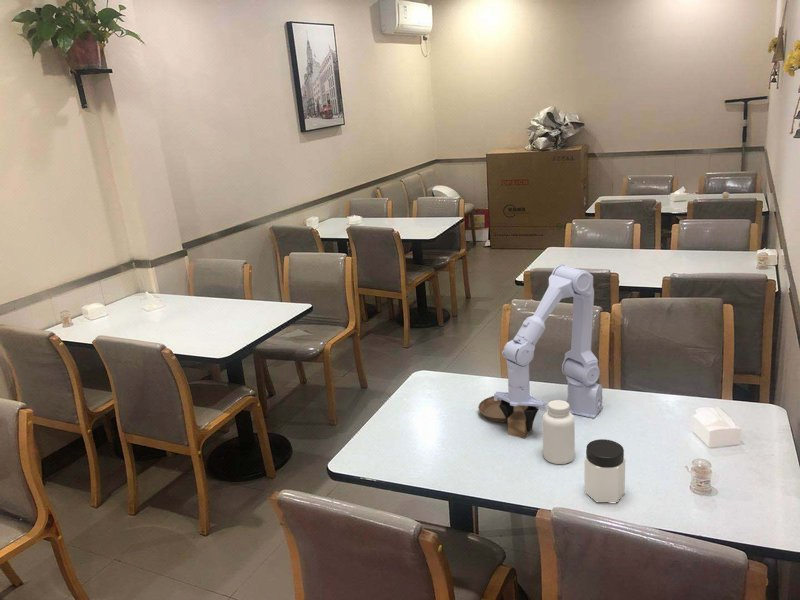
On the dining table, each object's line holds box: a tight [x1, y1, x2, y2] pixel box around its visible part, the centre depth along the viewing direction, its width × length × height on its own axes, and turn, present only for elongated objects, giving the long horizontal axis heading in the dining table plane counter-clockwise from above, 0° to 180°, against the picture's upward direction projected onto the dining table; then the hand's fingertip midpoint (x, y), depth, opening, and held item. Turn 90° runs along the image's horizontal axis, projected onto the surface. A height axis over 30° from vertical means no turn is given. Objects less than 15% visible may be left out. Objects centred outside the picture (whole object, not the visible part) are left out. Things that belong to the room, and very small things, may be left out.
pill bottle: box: [541, 399, 576, 465], centre depth 161 cm, size 8×8×15 cm
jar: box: [583, 438, 626, 503], centre depth 145 cm, size 9×8×12 cm
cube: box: [507, 410, 533, 439], centre depth 176 cm, size 5×5×5 cm
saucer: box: [478, 395, 528, 423], centre depth 187 cm, size 15×15×3 cm
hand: (520, 427), depth 176 cm, fingers closed on cube, 5 cm apart
